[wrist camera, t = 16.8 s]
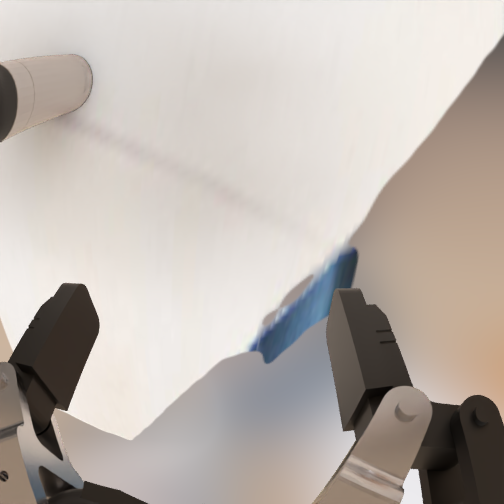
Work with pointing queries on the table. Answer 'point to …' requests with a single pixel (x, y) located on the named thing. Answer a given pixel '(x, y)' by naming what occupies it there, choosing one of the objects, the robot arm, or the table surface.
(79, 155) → the table surface
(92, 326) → the robot arm
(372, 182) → the table surface
